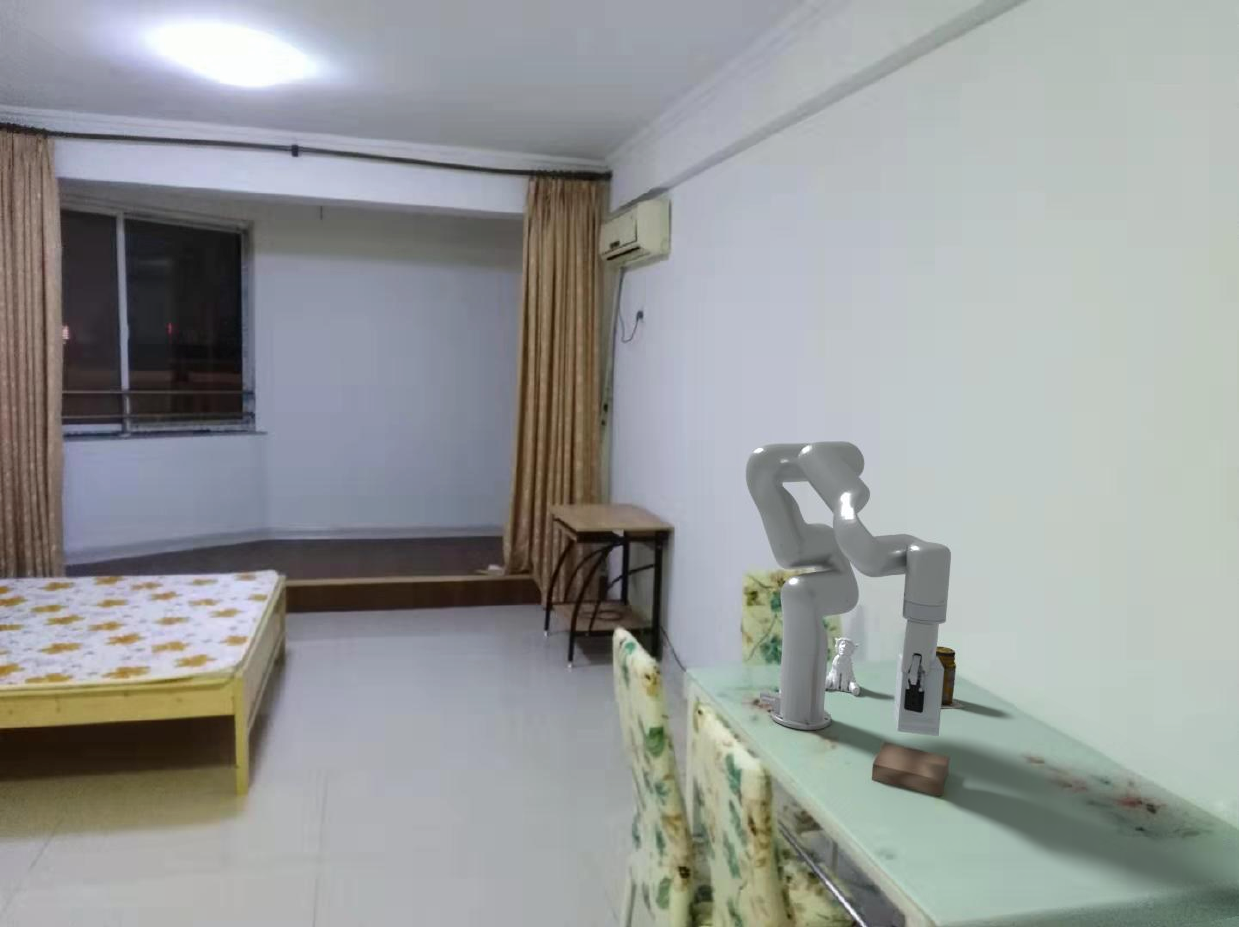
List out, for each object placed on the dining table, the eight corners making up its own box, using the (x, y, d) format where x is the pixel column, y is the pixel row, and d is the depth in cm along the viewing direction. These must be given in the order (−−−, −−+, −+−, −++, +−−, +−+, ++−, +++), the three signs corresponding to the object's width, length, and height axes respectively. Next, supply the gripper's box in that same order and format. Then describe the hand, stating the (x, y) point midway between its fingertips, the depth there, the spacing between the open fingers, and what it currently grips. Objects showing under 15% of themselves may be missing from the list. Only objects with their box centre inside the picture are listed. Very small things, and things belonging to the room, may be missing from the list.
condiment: (943, 693, 207) (948, 644, 205) (965, 707, 198) (970, 656, 197) (915, 695, 205) (920, 645, 204) (936, 709, 197) (940, 657, 195)
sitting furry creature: (817, 689, 206) (820, 640, 204) (822, 678, 214) (825, 630, 212) (858, 696, 202) (862, 646, 201) (862, 684, 210) (866, 635, 209)
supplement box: (939, 736, 158) (945, 668, 157) (896, 731, 159) (901, 664, 158) (933, 721, 165) (938, 655, 164) (892, 716, 167) (897, 651, 165)
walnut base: (871, 779, 161) (872, 763, 161) (882, 756, 171) (884, 741, 171) (940, 796, 156) (941, 780, 156) (948, 771, 166) (949, 756, 165)
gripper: (910, 597, 169) (903, 684, 171) (894, 618, 154) (887, 714, 156) (951, 603, 166) (944, 692, 168) (940, 625, 150) (932, 723, 152)
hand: (917, 702), depth 162 cm, fingers closed on supplement box, 8 cm apart
